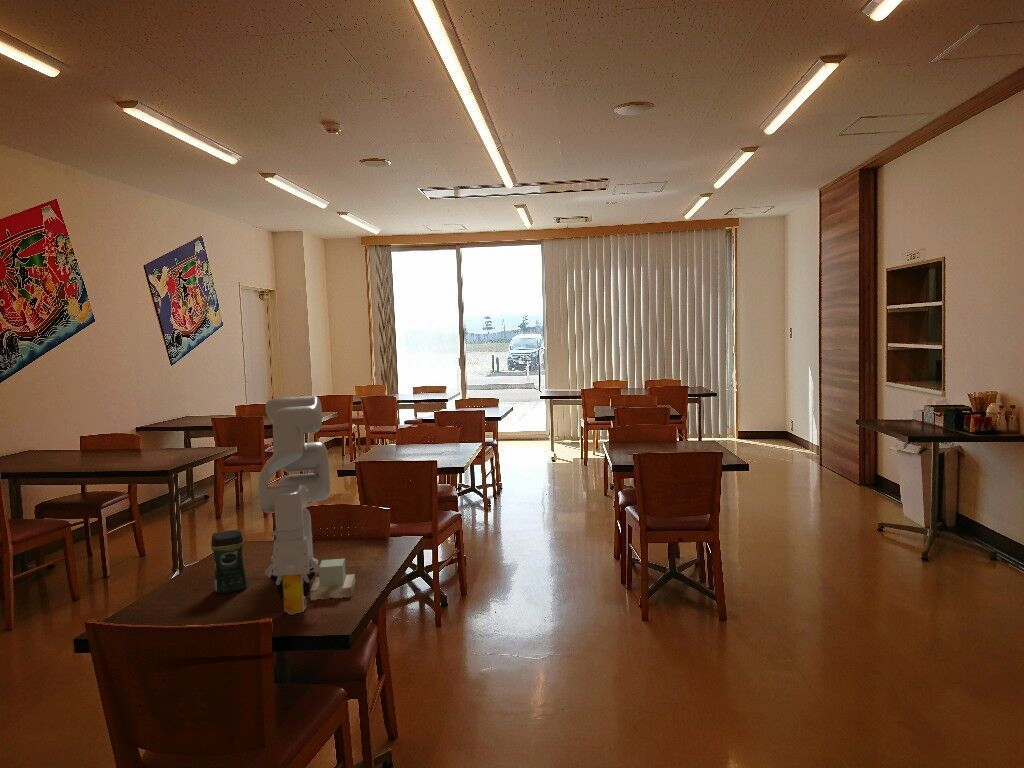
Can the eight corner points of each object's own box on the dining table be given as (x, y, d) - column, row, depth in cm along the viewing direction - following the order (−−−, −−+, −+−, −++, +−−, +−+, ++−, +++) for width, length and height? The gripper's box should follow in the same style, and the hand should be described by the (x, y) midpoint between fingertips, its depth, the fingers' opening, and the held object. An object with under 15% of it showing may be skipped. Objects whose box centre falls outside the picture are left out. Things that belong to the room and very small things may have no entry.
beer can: (287, 607, 214) (283, 557, 213) (308, 606, 215) (305, 555, 213) (282, 615, 208) (278, 564, 207) (304, 614, 208) (300, 562, 207)
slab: (310, 600, 219) (309, 590, 219) (316, 586, 231) (316, 577, 231) (351, 596, 221) (351, 587, 221) (355, 583, 233) (354, 574, 232)
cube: (319, 586, 222) (318, 567, 221) (323, 579, 229) (321, 560, 228) (343, 585, 223) (342, 565, 222) (345, 577, 230) (344, 558, 229)
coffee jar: (246, 582, 238) (242, 526, 236) (247, 590, 231) (243, 532, 229) (214, 587, 234) (209, 530, 233) (214, 595, 227) (210, 536, 225)
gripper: (256, 540, 205) (260, 603, 206) (319, 535, 207) (323, 598, 208) (262, 532, 212) (266, 593, 214) (323, 528, 214) (327, 588, 216)
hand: (294, 595), depth 211 cm, fingers closed on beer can, 6 cm apart
